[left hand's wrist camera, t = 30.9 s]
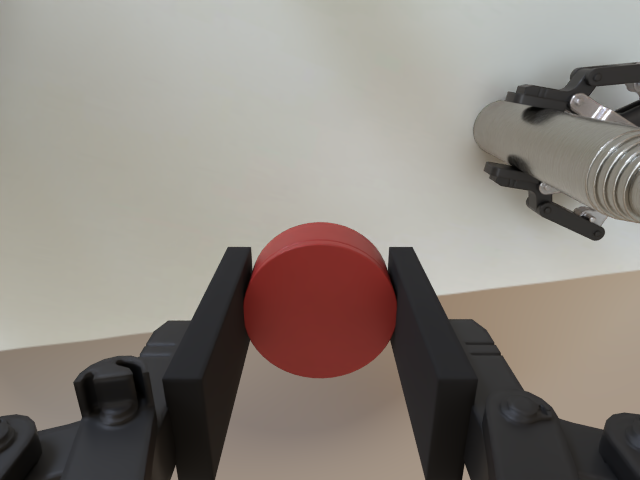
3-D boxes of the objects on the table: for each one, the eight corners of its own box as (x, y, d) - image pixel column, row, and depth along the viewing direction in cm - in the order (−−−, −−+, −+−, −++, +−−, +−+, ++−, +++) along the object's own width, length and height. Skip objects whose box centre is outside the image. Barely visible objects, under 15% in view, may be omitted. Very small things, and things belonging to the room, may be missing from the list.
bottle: (527, 147, 41) (760, 243, 19) (475, 158, 41) (647, 264, 20) (524, 94, 39) (778, 135, 17) (471, 106, 39) (654, 160, 18)
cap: (244, 223, 14) (234, 246, 12) (390, 219, 14) (400, 241, 12) (257, 345, 16) (249, 380, 14) (387, 341, 16) (395, 376, 14)
